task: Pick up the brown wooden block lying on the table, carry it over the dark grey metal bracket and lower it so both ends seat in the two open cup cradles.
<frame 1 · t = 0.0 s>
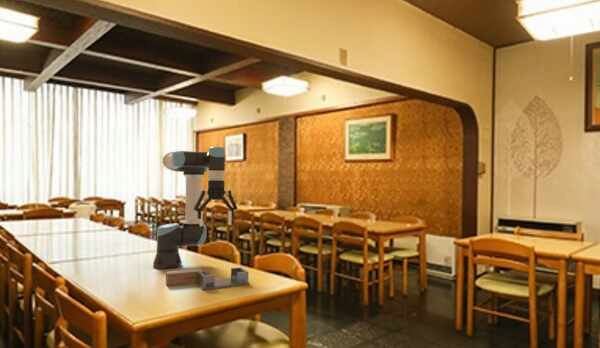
hand: (215, 225, 186), 28 cm above the table, fingers open, 13 cm apart
bracket: (222, 284, 186), on the table
brown wooden block: (184, 284, 187), on the table
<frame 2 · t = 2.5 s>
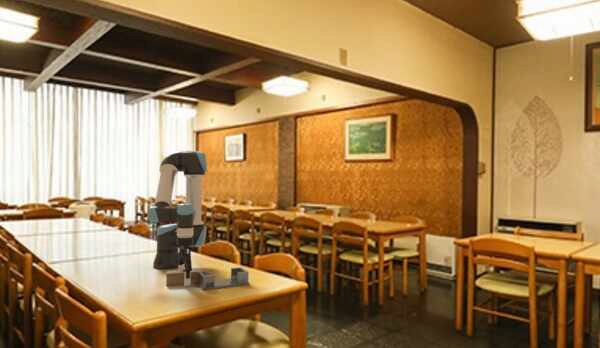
hand: (184, 281, 187), 1 cm above the table, fingers open, 13 cm apart
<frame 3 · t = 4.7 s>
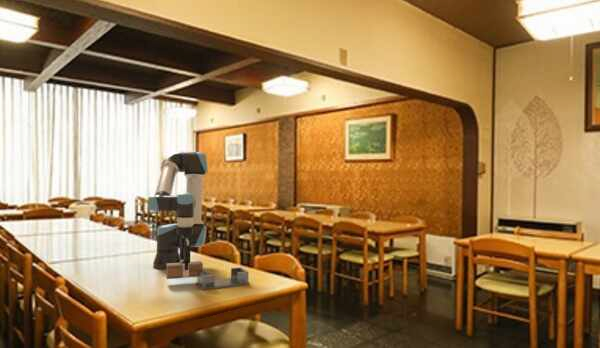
hand: (184, 274, 188), 4 cm above the table, fingers closed on brown wooden block, 5 cm apart
brown wooden block: (184, 276, 188), point 3 cm above the table, touching gripper
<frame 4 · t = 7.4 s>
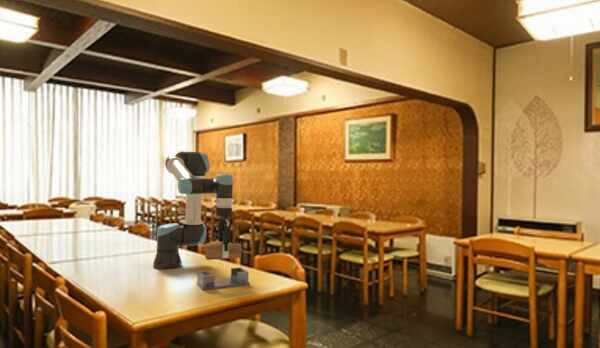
hand: (223, 256, 186), 13 cm above the table, fingers closed on brown wooden block, 5 cm apart
brown wooden block: (223, 257, 186), point 13 cm above the table, touching gripper
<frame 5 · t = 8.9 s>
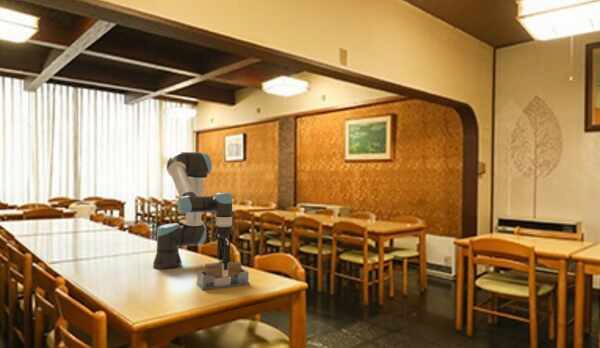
hand: (223, 275, 186), 4 cm above the table, fingers closed on brown wooden block, 5 cm apart
brown wooden block: (223, 276, 186), point 4 cm above the table, touching gripper
when the fingers open (4 cm above the table, at t = 10.0 s): brown wooden block stays where it is, resting on bracket.
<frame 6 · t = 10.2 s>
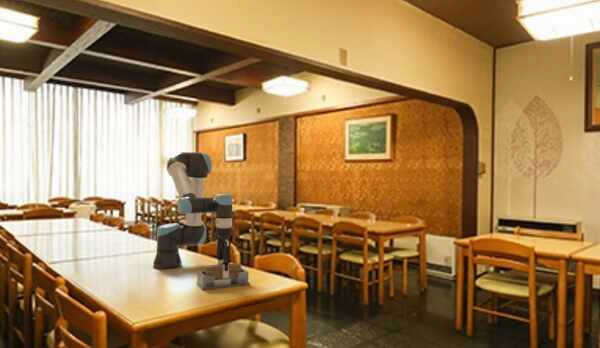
hand: (223, 275, 186), 4 cm above the table, fingers open, 7 cm apart
brown wooden block: (222, 278, 186), point 3 cm above the table, touching bracket
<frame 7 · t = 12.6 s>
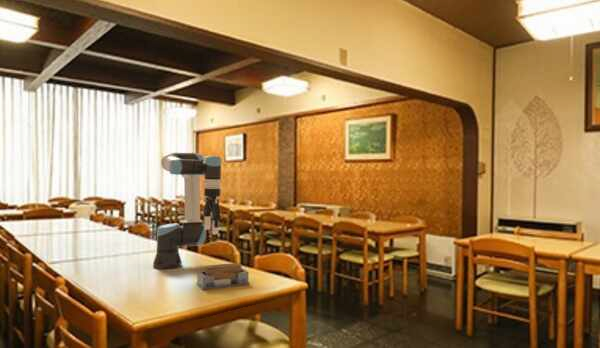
hand: (211, 231, 192), 24 cm above the table, fingers open, 13 cm apart
nothing on the table moved.
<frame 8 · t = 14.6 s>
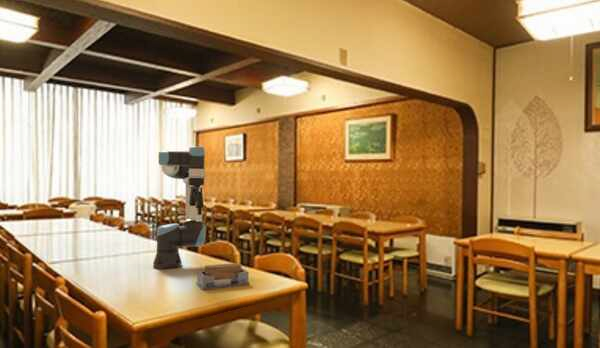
hand: (195, 220, 198), 29 cm above the table, fingers open, 13 cm apart
nothing on the table moved.
at the end: brown wooden block 0.1 cm off-centre on the bracket, point 3.0 cm above the bracket's base; brown wooden block tilted 0°; the gripper is holding nothing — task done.
